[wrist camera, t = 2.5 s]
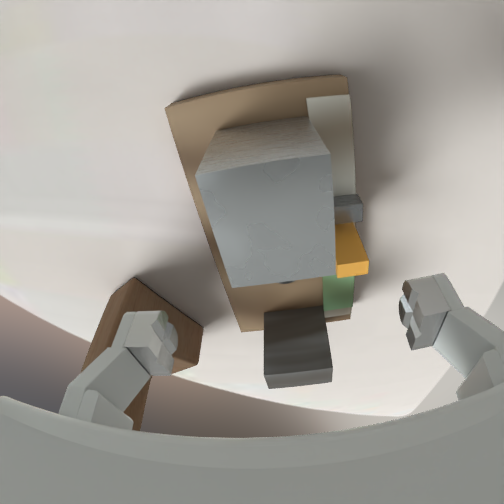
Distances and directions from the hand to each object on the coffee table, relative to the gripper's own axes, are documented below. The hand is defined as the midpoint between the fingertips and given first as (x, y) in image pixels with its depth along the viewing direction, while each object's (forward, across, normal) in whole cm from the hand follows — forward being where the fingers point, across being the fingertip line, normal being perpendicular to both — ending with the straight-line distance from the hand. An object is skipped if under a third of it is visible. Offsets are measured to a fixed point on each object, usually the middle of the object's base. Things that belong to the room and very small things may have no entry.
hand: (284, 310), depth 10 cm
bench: (+12, 0, +4) cm, 12 cm away
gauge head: (+10, -1, 0) cm, 10 cm away
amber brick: (+10, -4, +4) cm, 11 cm away
